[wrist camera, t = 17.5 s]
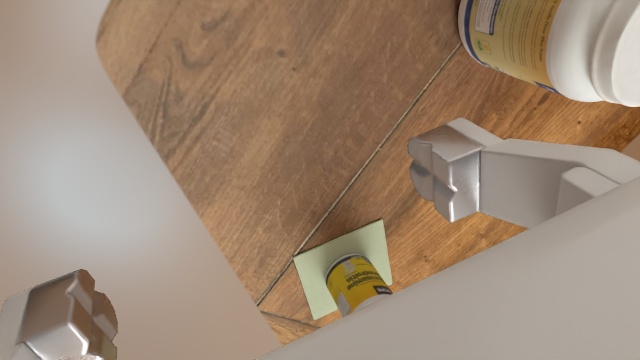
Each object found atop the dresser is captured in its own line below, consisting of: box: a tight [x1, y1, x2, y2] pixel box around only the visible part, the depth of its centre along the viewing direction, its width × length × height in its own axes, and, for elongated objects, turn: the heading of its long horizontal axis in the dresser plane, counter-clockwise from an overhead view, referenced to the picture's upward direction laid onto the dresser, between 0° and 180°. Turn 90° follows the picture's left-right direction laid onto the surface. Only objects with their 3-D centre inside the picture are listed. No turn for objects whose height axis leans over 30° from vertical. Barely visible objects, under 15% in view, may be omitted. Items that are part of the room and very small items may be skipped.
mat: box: [293, 219, 392, 320], centre depth 55 cm, size 12×12×1 cm
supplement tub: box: [458, 0, 640, 107], centre depth 37 cm, size 12×12×17 cm
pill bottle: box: [325, 254, 393, 317], centre depth 50 cm, size 6×6×12 cm
